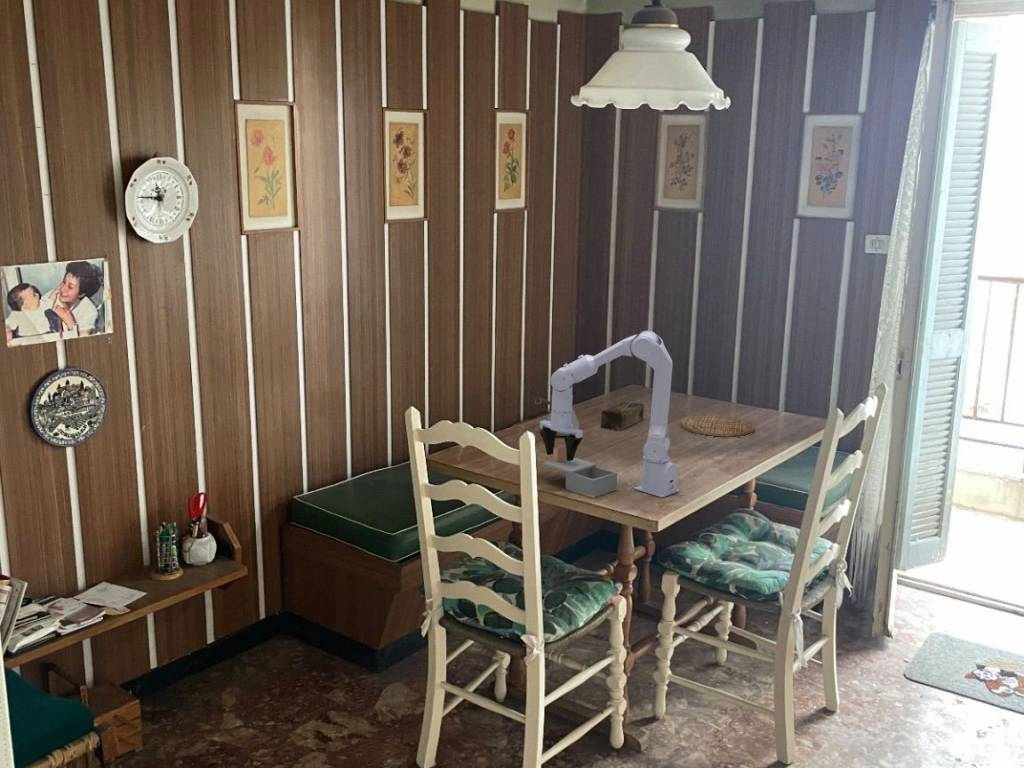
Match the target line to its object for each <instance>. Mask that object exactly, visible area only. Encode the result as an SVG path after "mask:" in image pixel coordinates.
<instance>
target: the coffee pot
mask: <svg viewBox="0 0 1024 768" xmlns="http://www.w3.org/2000/svg"><path fill="white" fill-rule="evenodd" d="M573 398H574V395H572V399H573ZM536 400H538V401H540V402H539V403H537V402H536ZM534 403H535V404H536V405H540V404H541V403H544V404H546V405H549V406H552V401H549V400H548V399H544V398H543V397H542V398H541V397H538V398H536V399H535V400H534ZM551 413H552V410H551V411H550V413H549V416H548V417H547V419H546V421H551ZM571 424H573V426H574V427H576V428H578V429H580V426H581V425H580V422H579V419H578V417H577V414H576V412H575V410H574V406H573V405H572V423H571ZM559 436H569V435H568V434H564V433H560V432H557V434H556V437H559Z"/></svg>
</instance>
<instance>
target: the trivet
mask: <svg viewBox="0 0 1024 768" xmlns="http://www.w3.org/2000/svg"><path fill="white" fill-rule="evenodd" d="M679 426H680V428H681V427H682V428H681V429H682V430H683V429H684V430H683V431H685V430H686V431H685V432H687V431H688V432H687V433H689V432H691V433H690V434H693V433H695V434H694V435H696V434H700V435H699V436H701V435H705V436H704V437H707V436H713V437H712V438H715V437H738V438H741V437H740V436H745V437H747V436H746V435H749V434H751V433H753V432H754V433H755V430H756V429H755V428H756V427H755V424H753V423H752V422H750V421H748V420H746V419H743V418H740V417H735V416H731V415H730V416H729V415H722V414H694V415H693V414H692V415H688V416H685V417H683V418H682V419H680V425H679ZM754 433H753V434H754ZM751 435H752V434H751ZM749 436H750V435H749Z"/></svg>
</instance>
